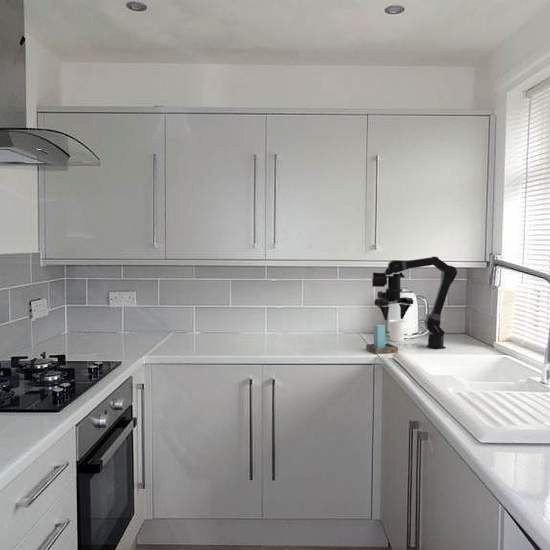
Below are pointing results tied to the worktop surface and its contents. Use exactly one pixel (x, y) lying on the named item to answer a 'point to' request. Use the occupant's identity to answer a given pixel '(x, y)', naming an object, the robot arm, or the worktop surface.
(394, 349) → the tray
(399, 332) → the white cup
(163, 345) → the worktop surface
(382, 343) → the peg
